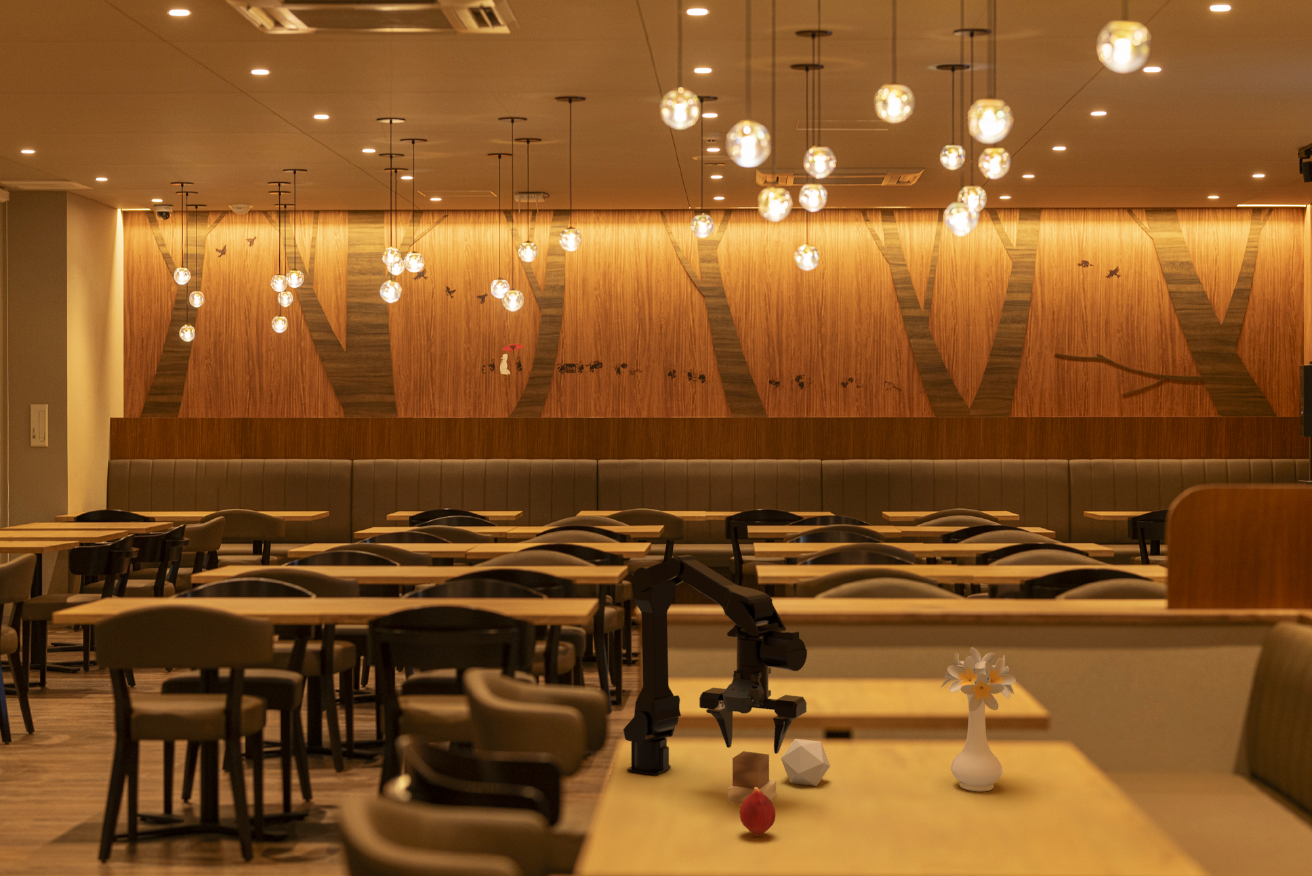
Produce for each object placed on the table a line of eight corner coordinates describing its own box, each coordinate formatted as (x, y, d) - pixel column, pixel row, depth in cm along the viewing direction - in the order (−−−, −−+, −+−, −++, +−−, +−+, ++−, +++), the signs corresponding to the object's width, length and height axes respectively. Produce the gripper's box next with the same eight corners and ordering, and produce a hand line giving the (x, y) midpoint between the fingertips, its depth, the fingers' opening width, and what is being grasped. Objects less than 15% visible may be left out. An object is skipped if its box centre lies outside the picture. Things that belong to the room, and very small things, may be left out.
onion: (778, 832, 213) (779, 784, 213) (770, 843, 207) (770, 794, 207) (744, 829, 215) (744, 781, 214) (735, 839, 209) (735, 790, 209)
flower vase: (958, 803, 229) (958, 663, 228) (932, 774, 247) (932, 644, 247) (1030, 802, 229) (1031, 662, 229) (999, 774, 248) (999, 644, 247)
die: (835, 783, 244) (814, 736, 248) (837, 771, 236) (815, 724, 241) (796, 800, 243) (775, 753, 248) (796, 789, 236) (774, 741, 240)
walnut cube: (732, 785, 231) (732, 758, 231) (743, 778, 235) (743, 751, 235) (758, 789, 229) (758, 761, 228) (769, 781, 233) (768, 754, 233)
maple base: (727, 804, 230) (727, 787, 230) (739, 793, 236) (739, 777, 236) (765, 808, 227) (765, 791, 227) (776, 797, 234) (776, 781, 234)
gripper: (686, 666, 228) (686, 754, 229) (784, 676, 220) (784, 767, 220) (712, 656, 238) (712, 740, 239) (807, 665, 230) (807, 752, 230)
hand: (752, 750), depth 232 cm, fingers open, 9 cm apart
